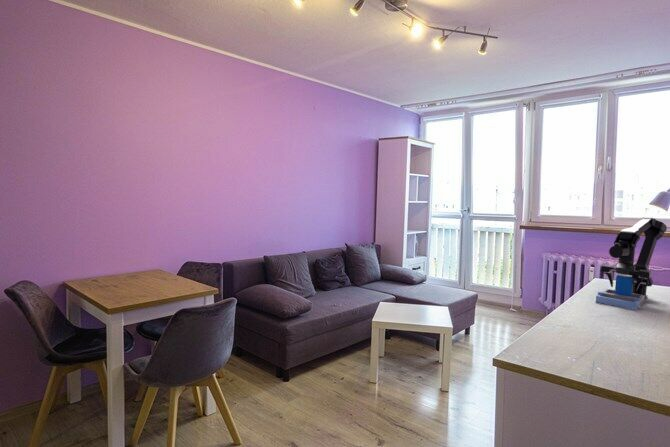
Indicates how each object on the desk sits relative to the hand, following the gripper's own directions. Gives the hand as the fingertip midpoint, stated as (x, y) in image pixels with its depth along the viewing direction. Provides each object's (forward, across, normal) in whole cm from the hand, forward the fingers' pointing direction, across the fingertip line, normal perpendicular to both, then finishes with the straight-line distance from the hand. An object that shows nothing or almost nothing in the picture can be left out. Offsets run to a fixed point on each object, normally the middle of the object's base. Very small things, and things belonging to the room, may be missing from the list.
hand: (623, 289), depth 184 cm
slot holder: (+5, 0, -6) cm, 8 cm away
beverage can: (+5, 0, 0) cm, 5 cm away
